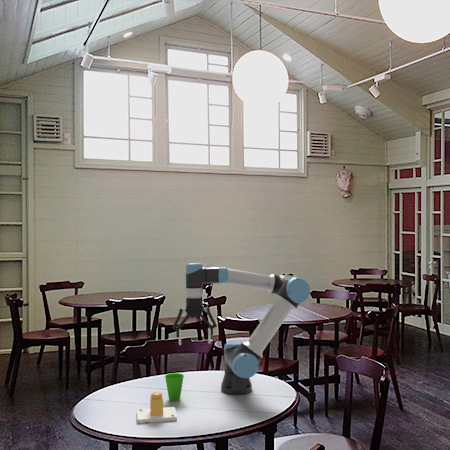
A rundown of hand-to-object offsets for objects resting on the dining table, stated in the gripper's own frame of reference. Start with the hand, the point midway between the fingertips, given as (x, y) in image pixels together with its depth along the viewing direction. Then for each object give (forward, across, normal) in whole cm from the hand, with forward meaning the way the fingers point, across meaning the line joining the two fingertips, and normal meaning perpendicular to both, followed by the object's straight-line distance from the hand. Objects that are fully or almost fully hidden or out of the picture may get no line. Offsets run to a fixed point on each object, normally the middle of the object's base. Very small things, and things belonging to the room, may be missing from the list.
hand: (194, 343), depth 223 cm
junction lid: (+26, +18, +14) cm, 35 cm away
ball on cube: (+25, +18, +14) cm, 34 cm away
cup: (+27, +9, -6) cm, 29 cm away
